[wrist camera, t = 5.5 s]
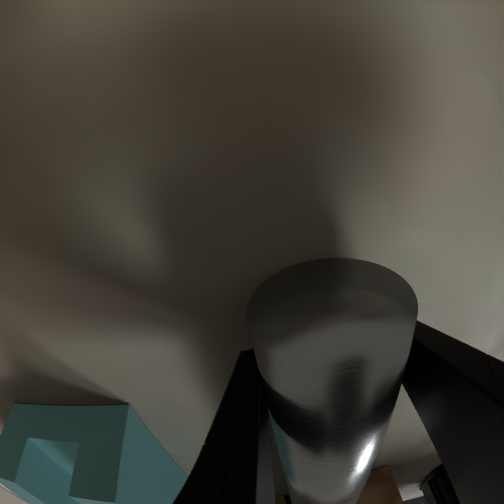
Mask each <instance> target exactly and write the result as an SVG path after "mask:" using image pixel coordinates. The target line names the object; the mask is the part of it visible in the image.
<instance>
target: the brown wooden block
mask: <svg viewBox="0 0 504 504" xmlns="http://www.w3.org/2000/svg"><path fill="white" fill-rule="evenodd" d="M275 504H286V502H285V498H284V496H279V497H275ZM356 504H404V503H403V500H402V498H401V495H400V493H399V491H398V488H397V486H396V483H395V481H394V479H393V476H392V474H391V472H390V469H389V467H388V465H387V466H384V467H382V468H379V469H376V470H374V471H371V472H370V475H369V477H368V479H367V481H366V484H365V486H364V488H363V490H362V492H361V495H360V497H359V499H358V501H357V503H356Z"/></svg>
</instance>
